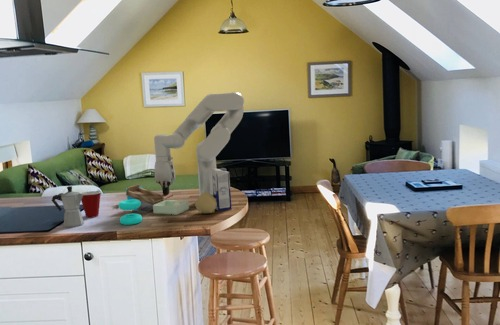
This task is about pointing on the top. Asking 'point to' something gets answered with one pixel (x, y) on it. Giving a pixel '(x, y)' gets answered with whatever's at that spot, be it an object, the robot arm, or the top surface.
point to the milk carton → (221, 188)
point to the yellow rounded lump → (206, 203)
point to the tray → (170, 207)
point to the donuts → (130, 218)
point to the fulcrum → (143, 208)
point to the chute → (145, 195)
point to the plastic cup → (91, 203)
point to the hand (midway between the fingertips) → (166, 194)
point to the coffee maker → (70, 207)
